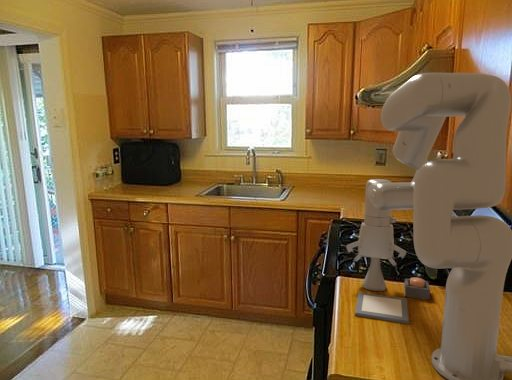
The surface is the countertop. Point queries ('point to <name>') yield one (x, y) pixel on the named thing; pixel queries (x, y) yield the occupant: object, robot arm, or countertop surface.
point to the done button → (417, 282)
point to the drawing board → (382, 307)
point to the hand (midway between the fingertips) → (374, 274)
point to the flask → (374, 277)
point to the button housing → (417, 290)
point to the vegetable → (431, 272)
